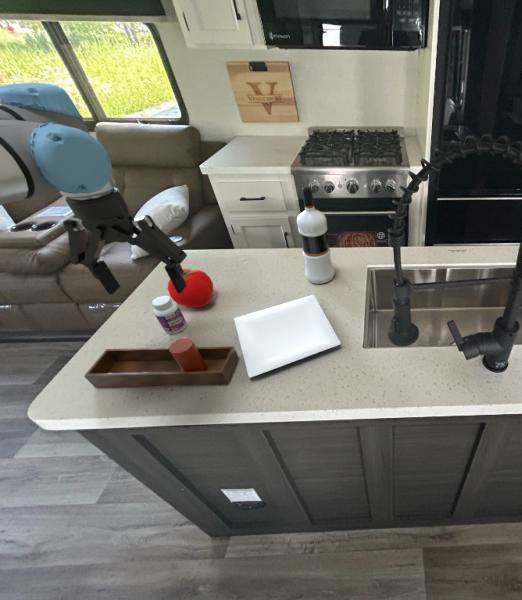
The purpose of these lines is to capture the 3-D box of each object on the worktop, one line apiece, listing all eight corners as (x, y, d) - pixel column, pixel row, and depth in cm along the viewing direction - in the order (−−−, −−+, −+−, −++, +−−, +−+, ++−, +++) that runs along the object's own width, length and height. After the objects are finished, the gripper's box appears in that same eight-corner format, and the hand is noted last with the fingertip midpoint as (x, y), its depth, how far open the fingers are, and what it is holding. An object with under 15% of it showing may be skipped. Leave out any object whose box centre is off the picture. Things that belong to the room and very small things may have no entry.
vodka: (320, 288, 103) (305, 197, 83) (300, 278, 107) (281, 188, 87) (340, 275, 109) (330, 186, 89) (320, 265, 113) (307, 178, 93)
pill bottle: (177, 336, 86) (161, 309, 80) (160, 332, 87) (143, 305, 81) (192, 322, 90) (177, 295, 84) (175, 319, 91) (160, 292, 85)
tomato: (192, 319, 91) (176, 291, 84) (167, 302, 96) (151, 274, 89) (228, 298, 98) (216, 271, 91) (203, 283, 103) (190, 256, 97)
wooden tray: (95, 388, 73) (83, 376, 71) (116, 360, 79) (106, 348, 77) (228, 384, 75) (222, 372, 72) (239, 358, 81) (234, 346, 78)
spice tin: (189, 382, 75) (172, 356, 69) (182, 370, 77) (166, 344, 72) (210, 371, 77) (195, 346, 71) (203, 360, 80) (189, 334, 74)
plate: (314, 299, 99) (313, 293, 98) (341, 348, 84) (341, 343, 83) (235, 323, 90) (233, 317, 89) (251, 382, 76) (248, 377, 74)
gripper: (177, 184, 60) (216, 278, 73) (30, 183, 58) (97, 280, 71) (157, 200, 54) (202, 299, 67) (-8, 200, 52) (73, 302, 66)
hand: (148, 289), depth 69 cm, fingers open, 13 cm apart
